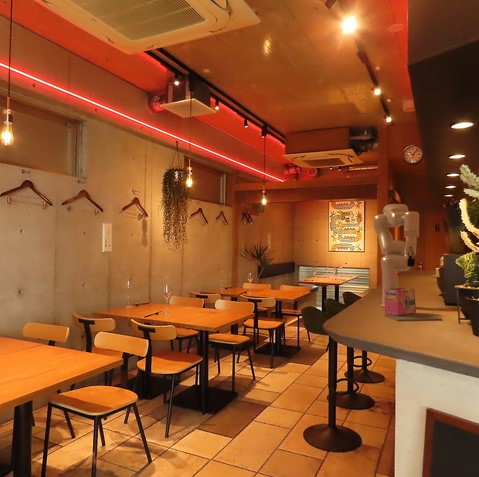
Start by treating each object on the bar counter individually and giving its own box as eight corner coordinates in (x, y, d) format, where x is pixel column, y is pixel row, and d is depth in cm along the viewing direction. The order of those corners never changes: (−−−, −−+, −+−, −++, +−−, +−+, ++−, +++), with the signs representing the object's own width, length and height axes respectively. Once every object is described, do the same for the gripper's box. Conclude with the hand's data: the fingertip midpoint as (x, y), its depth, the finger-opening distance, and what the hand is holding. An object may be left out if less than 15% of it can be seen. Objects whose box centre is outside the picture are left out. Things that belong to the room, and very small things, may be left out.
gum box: (403, 311, 236) (402, 287, 237) (417, 312, 231) (416, 288, 232) (384, 314, 219) (383, 289, 220) (398, 315, 214) (398, 289, 215)
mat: (384, 316, 219) (384, 314, 219) (426, 315, 222) (426, 314, 222) (397, 321, 205) (397, 319, 205) (442, 320, 208) (442, 318, 208)
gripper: (405, 234, 232) (404, 264, 233) (402, 234, 217) (402, 266, 217) (419, 234, 229) (419, 265, 229) (418, 234, 214) (417, 267, 214)
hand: (411, 265), depth 223 cm, fingers open, 9 cm apart
